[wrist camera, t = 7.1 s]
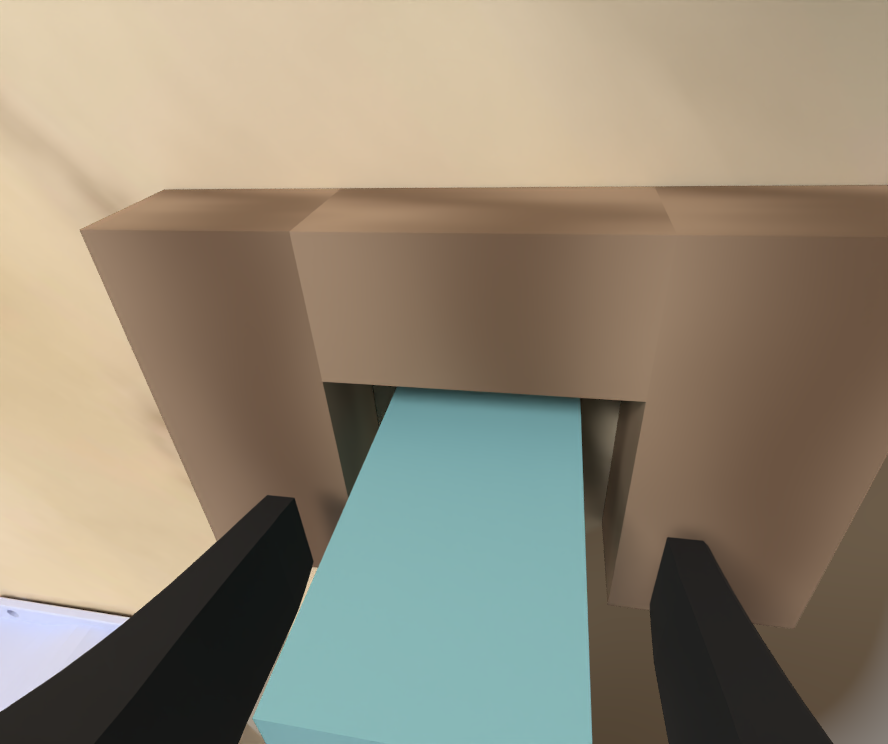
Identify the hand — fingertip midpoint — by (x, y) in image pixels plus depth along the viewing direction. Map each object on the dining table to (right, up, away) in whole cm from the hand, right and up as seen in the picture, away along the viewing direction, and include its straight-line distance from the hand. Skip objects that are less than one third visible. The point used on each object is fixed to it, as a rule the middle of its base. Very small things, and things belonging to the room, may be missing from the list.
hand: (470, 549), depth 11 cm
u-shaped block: (+1, +3, +2) cm, 4 cm away
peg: (+1, +2, +3) cm, 4 cm away
